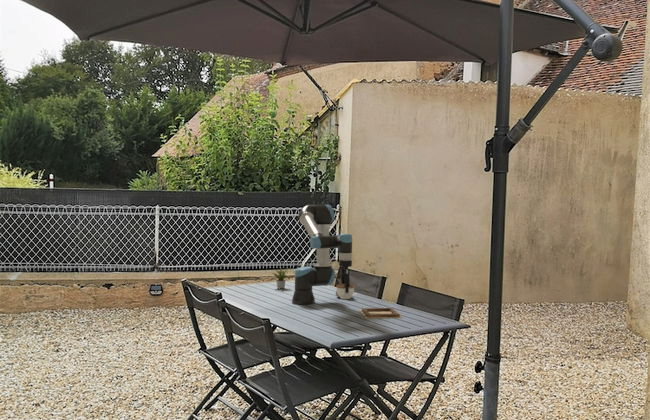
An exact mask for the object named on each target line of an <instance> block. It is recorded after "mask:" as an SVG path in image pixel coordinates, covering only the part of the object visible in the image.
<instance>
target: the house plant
mask: <svg viewBox="0 0 650 420" xmlns="http://www.w3.org/2000/svg"><path fill="white" fill-rule="evenodd" d="M284 270H285V271H284ZM273 271H274V272H271V274H273V276H274V277H275V278H277V279H276V287H277V289H278V288H284V289H285V287H286V279H285V278H286V277H288V276H289V275H287V274H286V273H287V272H288V271H289V268H285V269H282V267H280V270H278V269H274V268H273ZM275 272H276V273H275Z"/></svg>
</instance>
